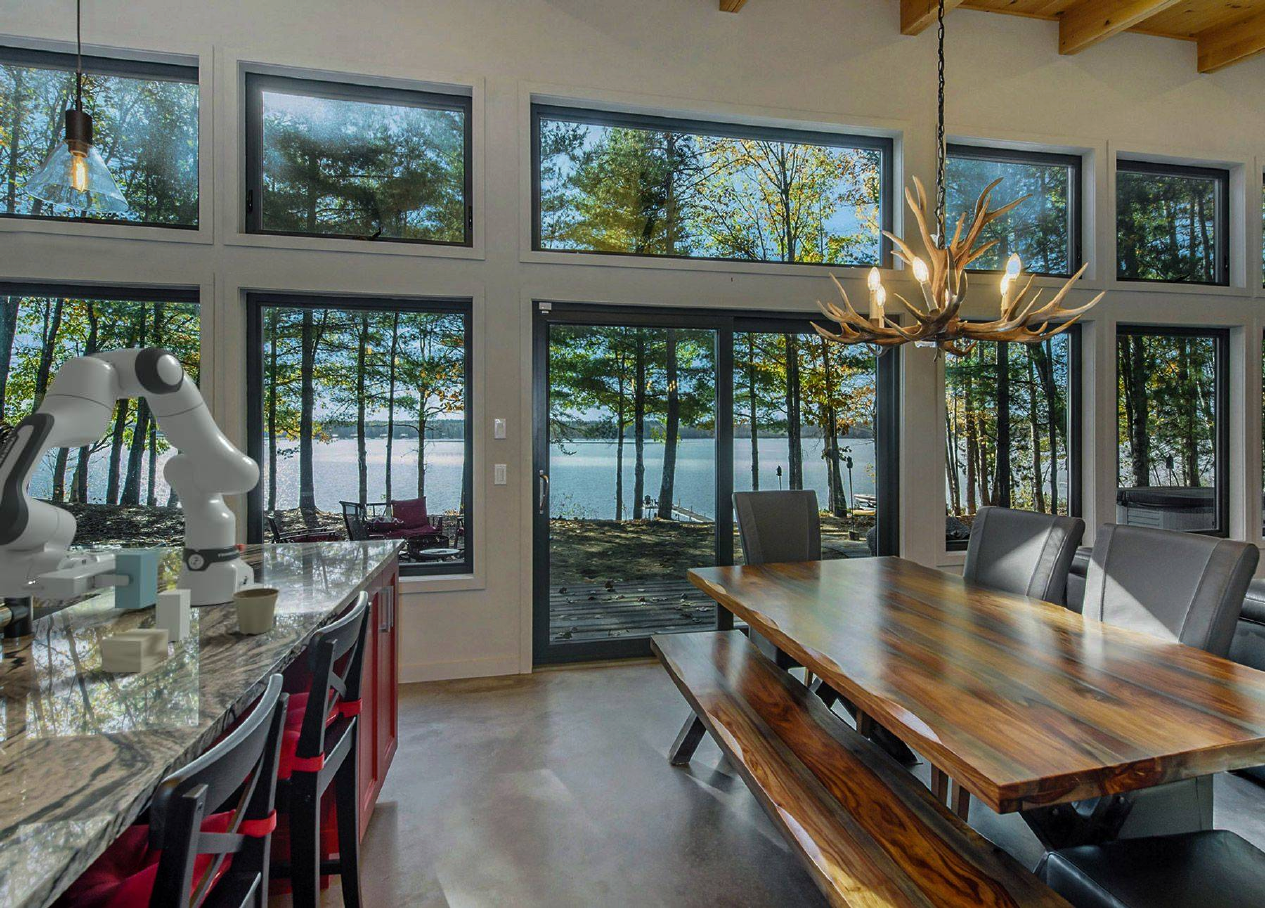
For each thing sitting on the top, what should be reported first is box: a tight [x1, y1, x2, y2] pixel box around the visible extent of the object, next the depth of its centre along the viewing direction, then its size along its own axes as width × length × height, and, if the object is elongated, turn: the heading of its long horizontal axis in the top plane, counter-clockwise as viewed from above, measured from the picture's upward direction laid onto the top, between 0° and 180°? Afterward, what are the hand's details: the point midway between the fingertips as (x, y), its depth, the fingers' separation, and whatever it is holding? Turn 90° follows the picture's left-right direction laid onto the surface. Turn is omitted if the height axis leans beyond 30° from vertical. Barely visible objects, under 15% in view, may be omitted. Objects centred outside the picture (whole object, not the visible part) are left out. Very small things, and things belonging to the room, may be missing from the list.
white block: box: [154, 589, 191, 642], centre depth 133 cm, size 4×4×10 cm
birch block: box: [101, 628, 169, 673], centre depth 117 cm, size 7×7×6 cm
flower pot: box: [231, 587, 281, 635], centre depth 140 cm, size 9×9×9 cm
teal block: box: [114, 549, 159, 610], centre depth 117 cm, size 4×4×10 cm
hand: (141, 576), depth 117 cm, fingers closed on teal block, 4 cm apart
